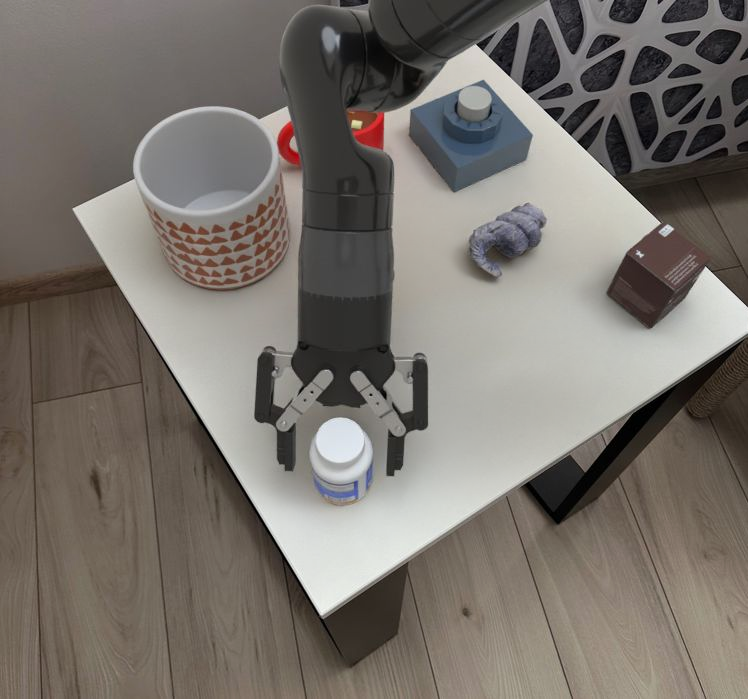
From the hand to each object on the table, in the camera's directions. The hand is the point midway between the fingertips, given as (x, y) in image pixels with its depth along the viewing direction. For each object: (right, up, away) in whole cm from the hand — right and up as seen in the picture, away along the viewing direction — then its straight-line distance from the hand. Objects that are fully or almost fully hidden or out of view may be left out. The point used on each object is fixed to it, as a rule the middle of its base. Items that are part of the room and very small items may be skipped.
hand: (340, 470), depth 65 cm
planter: (-13, +22, +18) cm, 32 cm away
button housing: (+14, +34, +25) cm, 44 cm away
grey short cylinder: (+14, +37, +20) cm, 44 cm away
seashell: (+17, +21, +18) cm, 33 cm away
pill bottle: (0, -2, +5) cm, 6 cm away
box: (+31, +16, +15) cm, 38 cm away
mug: (-2, +32, +24) cm, 40 cm away
